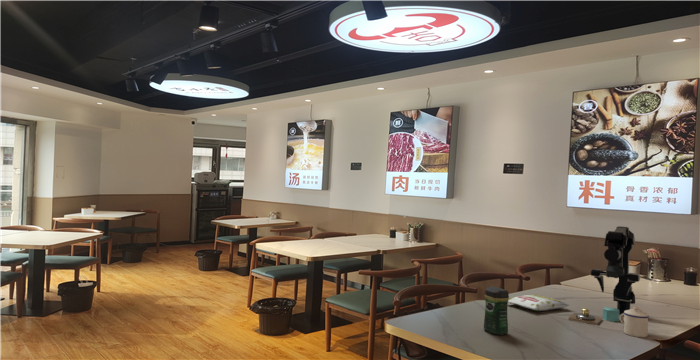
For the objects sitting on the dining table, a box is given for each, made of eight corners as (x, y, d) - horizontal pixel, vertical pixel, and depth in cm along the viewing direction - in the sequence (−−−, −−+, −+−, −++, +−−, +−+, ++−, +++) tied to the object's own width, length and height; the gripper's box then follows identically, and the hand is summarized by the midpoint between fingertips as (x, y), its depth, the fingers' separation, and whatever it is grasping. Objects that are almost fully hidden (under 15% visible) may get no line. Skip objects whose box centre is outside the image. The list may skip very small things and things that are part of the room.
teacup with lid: (653, 337, 193) (654, 309, 193) (637, 338, 190) (638, 310, 191) (628, 328, 205) (628, 302, 205) (612, 329, 202) (613, 303, 202)
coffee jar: (511, 334, 189) (512, 289, 190) (496, 336, 186) (498, 290, 186) (494, 327, 198) (496, 284, 199) (480, 329, 195) (481, 285, 195)
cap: (604, 316, 223) (604, 306, 223) (619, 319, 219) (620, 309, 219) (601, 319, 218) (602, 308, 218) (617, 322, 214) (617, 311, 214)
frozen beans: (571, 299, 232) (535, 302, 221) (571, 310, 232) (535, 315, 221) (537, 291, 251) (503, 294, 240) (537, 302, 251) (503, 305, 240)
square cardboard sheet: (574, 314, 225) (574, 304, 225) (602, 319, 217) (602, 309, 217) (568, 319, 215) (568, 309, 215) (597, 325, 208) (597, 314, 208)
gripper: (588, 258, 207) (587, 293, 207) (637, 264, 196) (636, 300, 195) (593, 256, 216) (592, 289, 216) (640, 261, 204) (639, 296, 204)
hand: (614, 293), depth 207 cm, fingers open, 9 cm apart
